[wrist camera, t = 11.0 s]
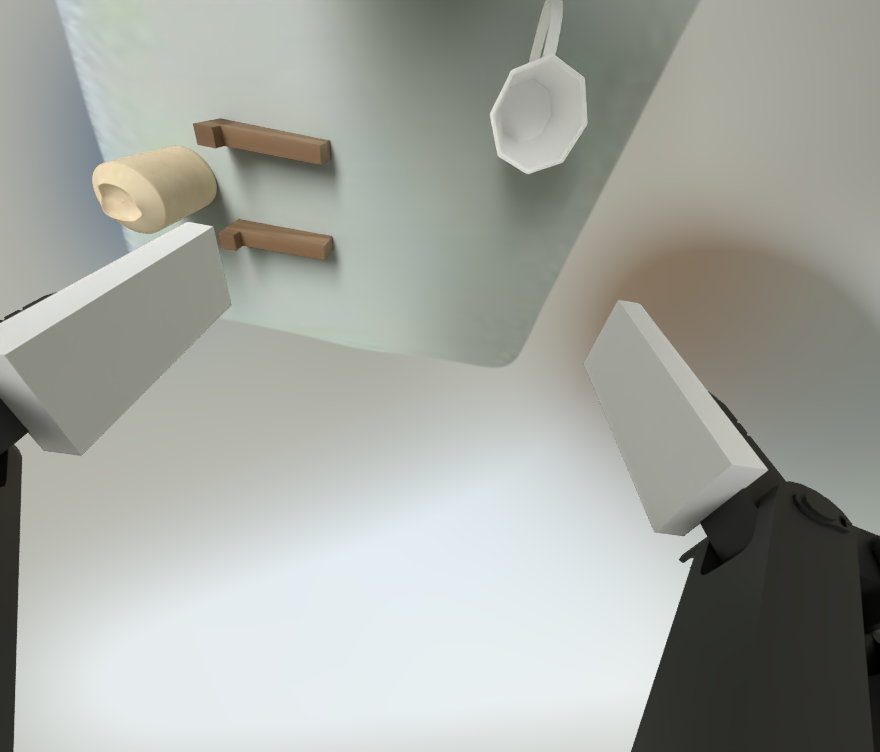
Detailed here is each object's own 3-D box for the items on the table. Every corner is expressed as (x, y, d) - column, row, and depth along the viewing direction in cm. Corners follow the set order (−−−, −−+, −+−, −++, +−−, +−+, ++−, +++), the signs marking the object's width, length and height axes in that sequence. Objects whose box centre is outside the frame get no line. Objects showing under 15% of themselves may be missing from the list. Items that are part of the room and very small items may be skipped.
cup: (478, 152, 34) (482, 170, 28) (497, 1, 28) (507, -20, 21) (552, 160, 34) (572, 179, 28) (588, 10, 28) (625, -8, 22)
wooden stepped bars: (220, 118, 33) (192, 123, 30) (329, 140, 34) (315, 148, 31) (241, 233, 40) (221, 247, 37) (332, 249, 41) (320, 265, 37)
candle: (190, 214, 39) (123, 248, 31) (147, 159, 36) (61, 182, 28) (229, 194, 37) (169, 225, 30) (188, 135, 34) (109, 153, 27)
